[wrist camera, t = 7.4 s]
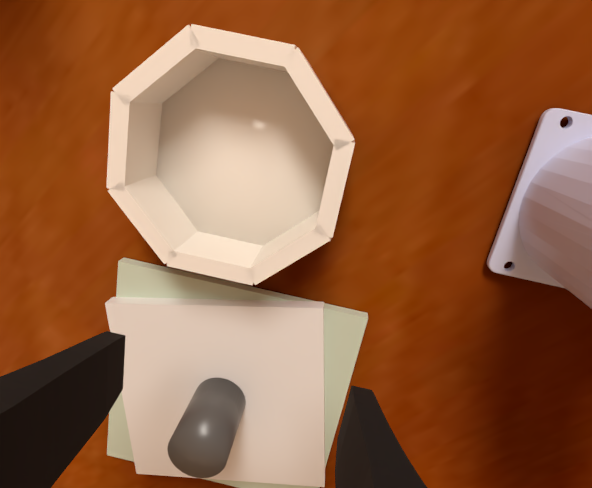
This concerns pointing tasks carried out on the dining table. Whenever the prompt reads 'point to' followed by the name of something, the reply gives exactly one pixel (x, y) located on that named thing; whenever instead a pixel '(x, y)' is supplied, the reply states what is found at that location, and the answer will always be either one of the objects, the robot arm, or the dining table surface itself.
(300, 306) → the cover
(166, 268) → the mat
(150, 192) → the bowl
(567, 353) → the dining table surface
